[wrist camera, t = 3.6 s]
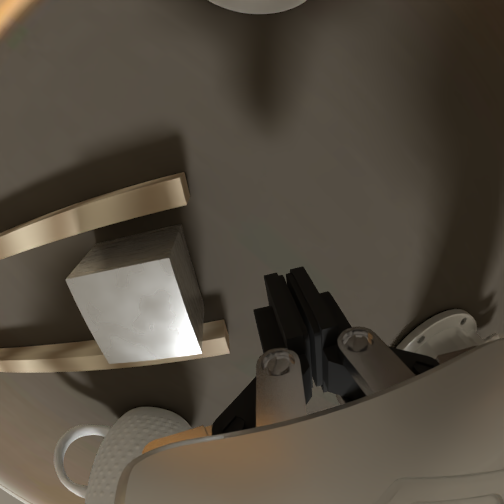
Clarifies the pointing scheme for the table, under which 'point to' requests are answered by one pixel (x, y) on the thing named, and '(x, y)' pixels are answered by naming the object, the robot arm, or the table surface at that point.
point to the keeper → (141, 296)
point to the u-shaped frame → (85, 219)
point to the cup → (258, 5)
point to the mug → (116, 449)
